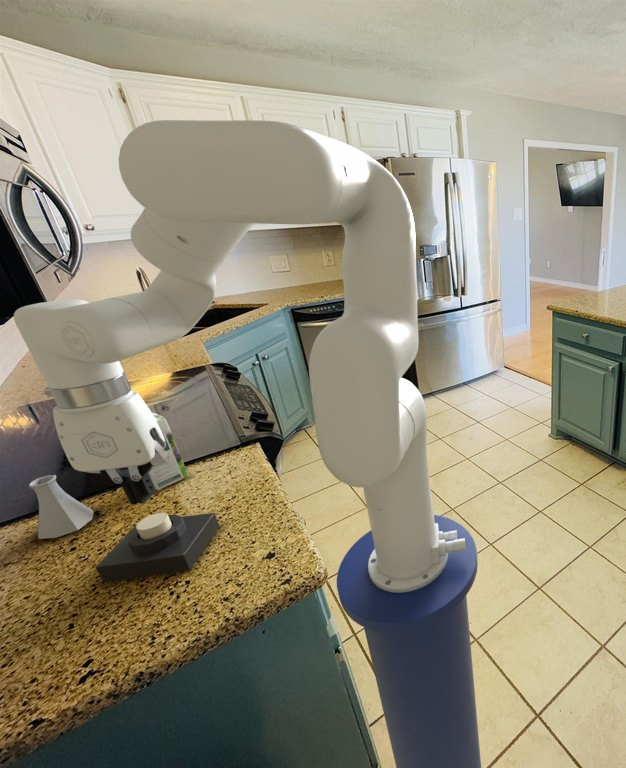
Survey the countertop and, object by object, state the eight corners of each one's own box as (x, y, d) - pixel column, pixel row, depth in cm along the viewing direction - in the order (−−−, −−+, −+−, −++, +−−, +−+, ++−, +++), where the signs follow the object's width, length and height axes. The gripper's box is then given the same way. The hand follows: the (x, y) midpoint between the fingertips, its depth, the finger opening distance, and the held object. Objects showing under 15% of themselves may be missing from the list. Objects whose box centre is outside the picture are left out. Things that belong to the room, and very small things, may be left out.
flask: (28, 545, 70) (-1, 497, 66) (53, 518, 76) (28, 473, 72) (82, 533, 72) (57, 486, 69) (102, 508, 79) (80, 464, 75)
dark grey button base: (220, 526, 73) (211, 504, 71) (190, 570, 64) (179, 546, 62) (145, 536, 71) (134, 513, 69) (103, 583, 62) (89, 558, 60)
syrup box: (157, 491, 83) (130, 429, 78) (145, 483, 86) (118, 422, 80) (189, 477, 88) (166, 417, 82) (176, 469, 90) (152, 411, 85)
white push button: (177, 520, 68) (173, 511, 67) (163, 538, 65) (158, 527, 64) (150, 524, 68) (146, 514, 67) (134, 541, 64) (129, 531, 63)
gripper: (4, 408, 52) (69, 522, 59) (136, 396, 54) (183, 506, 61) (54, 386, 59) (107, 490, 66) (169, 376, 61) (208, 477, 68)
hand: (144, 498), depth 64 cm, fingers closed
